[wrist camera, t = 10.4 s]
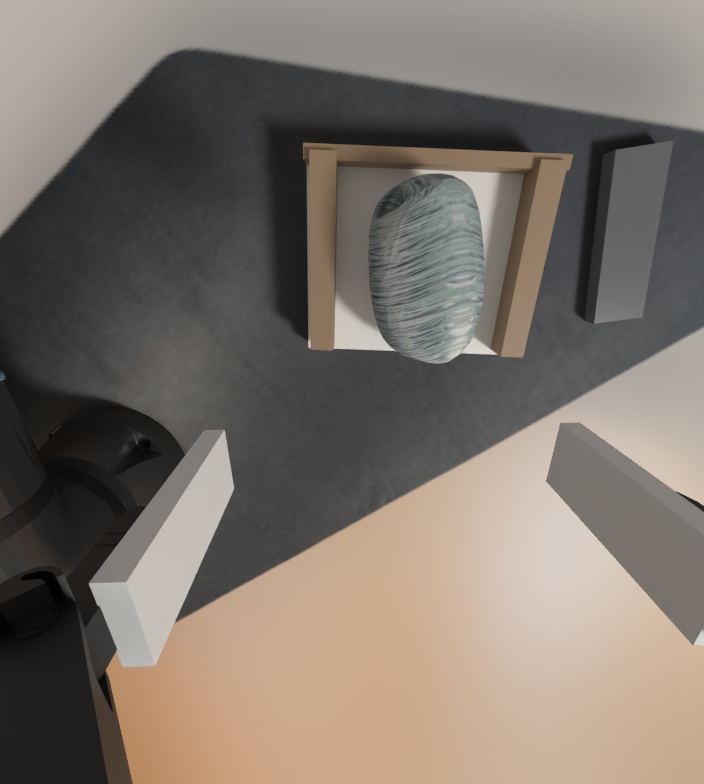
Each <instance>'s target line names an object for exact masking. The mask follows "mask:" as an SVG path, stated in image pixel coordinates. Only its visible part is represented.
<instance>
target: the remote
mask: <svg viewBox="0 0 704 784" xmlns="http://www.w3.org/2000/svg"><path fill="white" fill-rule="evenodd" d="M672 146H673V141H667V142H661V143H655V144H649V145H643V146H636V147H630V148H624V149H618V150H614V151H611V152H609V153H606V154H603V159H602V168H601V177H600V186H599V195H598V204H597V212H596V221H595V230H594V239H593V248H592V257H591V266H590V275H589V283H588V292H587V301H586V310H585V319H584V321H587V322H591V323H594V324H595V323H603V322H610V321H618V320H625V319H633V318H640V317H643V311H644V305H645V300H646V294H647V288H648V283H649V277H650V271H651V265H652V260H653V254H654V248H655V243H656V237H657V231H658V226H659V220H660V214H661V209H662V203H663V197H664V191H665V186H666V180H667V174H668V169H669V163H670V157H671V152H672Z"/></svg>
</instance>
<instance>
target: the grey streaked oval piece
mask: <svg viewBox="0 0 704 784" xmlns="http://www.w3.org/2000/svg"><path fill="white" fill-rule="evenodd" d="M368 261H369V285H370V293H371V299H372V306H373V310H374V316H375V320H376V323H377V326H378V328H379V331H380V333H381V335H382V337H383V339H384V340H385V341H386V343H387V344H388V345H389V346H390V347H391V348H393V349H394V350H396V351H397V352H399V353H401V354H402V355H404V356H407V357H410V358H413V359H417V360H421V361H424V362H428V363H444V362H448V361H450V360H452V359H453V358H455V357H456V356H458V355H459V354H460V353H461V352H462V351H463V350H464V349H465V348H466V347H467V345H468V344H469V343H470V341H471V339H472V337H473V335H474V333H475V331H476V329H477V326H478V323H479V319H480V314H481V309H482V303H483V293H484V246H483V236H482V226H481V219H480V213H479V209H478V205H477V202H476V199H475V196H474V193H473V191H472V189H471V188H470V187H469V186H468V185H467V184H466V183H465V182H464V181H462V180H460V179H459V178H457V177H455V176H453V175H448V174H424V175H419V176H416V177H413V178H410V179H407V180H405V181H403V182H401V183H399V184H398V185H396V186H394V187H393V188H392V189H391V190H389V191H388V192H387V193H386V194H385V195H384V196H383V197H382V198H381V200H380V201H379V203H378V204H377V206H376V208H375V210H374V214H373V217H372V221H371V226H370V231H369V252H368Z"/></svg>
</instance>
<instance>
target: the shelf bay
mask: <svg viewBox="0 0 704 784" xmlns="http://www.w3.org/2000/svg"><path fill="white" fill-rule="evenodd" d="M572 158H573V154H552V153H529V152H506V151H483V150H460V149H437V148H414V147H390V146H367V145H344V144H321V143H303V159H304V161H305V163H306V165H307V252H308V348H311V350H333V349H334V348H335V349H362V350H388V351H396V350H394V349H393V348H391V347H390V346H389V345H388V344H387V343H386V341H385V340H384V339H383V337H382V335H381V333H380V331H379V328H378V326H377V323H376V320H375V316H374V310H373V306H372V299H371V293H370V285H369V261H368V252H369V231H370V226H371V221H372V217H373V214H374V210H375V208H376V206H377V204H378V203H379V201H380V200H381V198H382V197H383V196H384V195H385V194H386V193H387V192H388V191H389V190H391V189H392V188H393V187H394V186H396V185H398V184H399V183H401V182H403V181H405V180H407V179H410V178H413V177H416V176H419V175H424V174H448V175H453V176H455V177H457V178H459V179H460V180H462V181H464V182H465V183H466V184H467V185H468V186H469V187H470V188H471V189H472V191H473V193H474V196H475V199H476V202H477V205H478V209H479V213H480V219H481V226H482V236H483V246H484V293H483V303H482V309H481V314H480V319H479V323H478V326H477V329H476V331H475V333H474V335H473V337H472V339H471V341H470V343H469V344H468V345H467V347H466V348H465V349H464V350H463V351H462V352H461V353H469V354H496V355H499V356H500V357H523V355H524V351H525V346H526V342H527V338H528V333H529V329H530V325H531V320H532V316H533V312H534V307H535V303H536V299H537V294H538V290H539V286H540V282H541V277H542V273H543V269H544V264H545V260H546V256H547V251H548V247H549V243H550V238H551V234H552V230H553V225H554V221H555V217H556V213H557V208H558V204H559V200H560V195H561V191H562V187H563V182H564V178H565V174H566V171H569V170H570V166H571V162H572Z"/></svg>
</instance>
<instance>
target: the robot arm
mask: <svg viewBox="0 0 704 784" xmlns="http://www.w3.org/2000/svg"><path fill="white" fill-rule="evenodd" d="M4 379H5V375H4V373H3V372H1V371H0V784H133V783H132V779H131V775H130V770H129V766H128V761H127V757H126V752H125V748H124V743H123V739H122V735H121V731H120V725H119V721H118V717H117V712H116V708H115V703H114V699H113V695H112V690H111V685H110V681H109V677H108V675H107V672H106V669H107V667H108V665H109V663H110V661H111V659H112V658H113V656H114V654H115V652H117V655H118V657H119V660H120V662H121V665H122V667H136V666H155V665H156V663H157V661H158V658H159V656H160V654H161V652H162V649H163V647H164V645H165V643H166V640H167V638H168V636H169V634H170V631H171V629H172V627H173V625H174V622H175V620H176V618H177V616H178V613H179V611H180V609H181V607H182V604H183V602H184V600H185V598H186V596H187V593H188V591H189V589H190V587H191V584H192V582H193V580H194V578H195V575H196V573H197V571H198V569H199V566H200V564H201V562H202V560H203V557H204V555H205V553H206V551H207V548H208V546H209V544H210V542H211V539H212V537H213V535H214V533H215V530H216V528H217V526H218V524H219V521H220V519H221V517H222V515H223V512H224V510H225V508H226V506H227V504H228V501H229V499H230V497H231V495H232V492H233V490H234V485H233V479H232V473H231V467H230V461H229V454H228V448H227V442H226V436H225V430H204V431H203V433H202V434H201V435H200V437H199V438H198V439H197V441H196V442H195V443H194V445H193V446H192V447H191V448H190V450H189V451H188V452H187V454H186V455H185V454H184V452H183V450H182V449H181V447H180V445H179V444H178V442H177V441H176V440H175V439H174V437H173V436H172V435H171V434H170V433H169V432H168V431H167V430H166V429H164V428H163V427H162V426H161V425H159V424H158V423H157V422H155V421H153V420H152V419H150V418H148V417H146V416H144V415H142V414H140V413H137V412H134V411H131V410H128V409H124V408H118V407H96V408H91V409H87V410H84V411H82V412H79V413H77V414H76V415H74V416H72V417H71V418H69V419H67V420H66V421H64V422H62V423H61V424H59V425H58V426H57V427H56V428H55V429H54V430H53V431H52V432H51V433H50V434H49V435H48V437H47V438H46V440H45V441H44V443H43V445H42V447H41V449H40V450H39V451H38V450H37V448H36V446H35V444H34V442H33V440H32V438H31V436H30V434H29V432H28V430H27V428H26V426H25V424H24V422H23V420H22V418H21V416H20V414H19V412H18V410H17V408H16V406H15V404H14V402H13V400H12V398H11V396H10V394H9V392H8V390H7V388H6V385H5V383H4V381H3V380H4ZM546 481H547V483H548V484H549V485H550V486H551V487H552V488H553V489H554V490H555V492H556V493H557V494H558V495H559V496H560V497H561V498H562V499H563V500H564V501H565V503H566V504H567V505H568V506H569V507H570V508H571V509H572V511H573V512H574V513H575V514H576V515H577V516H578V517H579V518H580V519H581V521H582V522H583V523H584V524H585V525H586V526H587V527H588V528H589V530H590V531H591V532H592V533H593V534H594V535H595V536H596V537H597V538H598V540H599V541H600V542H601V543H602V544H603V545H604V546H605V547H606V549H607V550H608V551H609V552H610V553H611V554H612V555H613V556H614V558H616V560H617V561H618V562H619V563H620V564H621V565H622V566H623V568H624V569H625V570H626V571H627V572H628V573H629V574H630V575H631V577H632V578H633V579H634V580H635V581H636V582H637V583H638V584H639V586H640V587H641V588H642V589H643V590H644V591H645V592H646V593H647V594H648V596H649V597H650V598H651V599H652V600H653V601H654V602H655V603H656V605H657V606H658V607H659V608H660V609H661V610H662V611H663V612H664V613H665V615H667V617H668V618H669V619H670V620H671V621H672V622H673V623H674V624H675V626H676V627H677V628H678V629H679V630H680V631H681V633H682V634H683V635H684V636H685V637H686V638H687V639H688V640H689V641H690V643H691V644H692V645H704V506H703V505H701V504H700V503H699V502H697V501H695V500H693V499H691V498H689V497H687V496H685V495H683V494H681V493H678V492H676V491H674V490H672V489H671V488H670V487H668V486H667V485H665V484H664V483H663V482H661V481H660V480H658V479H657V478H656V477H654V476H653V475H652V474H650V473H649V472H647V471H646V470H645V469H643V468H642V467H640V466H639V465H637V464H636V463H635V462H633V461H632V460H631V459H629V458H628V457H627V456H625V455H624V454H622V453H621V452H619V451H618V450H617V449H615V448H614V447H613V446H611V445H610V444H608V443H607V442H606V441H604V440H603V439H602V438H600V437H599V436H597V435H596V434H595V433H593V432H592V431H590V430H589V429H588V428H586V427H585V426H583V425H582V424H580V423H561V424H560V427H559V431H558V435H557V439H556V444H555V448H554V452H553V456H552V460H551V464H550V468H549V472H548V476H547V480H546Z"/></svg>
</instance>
